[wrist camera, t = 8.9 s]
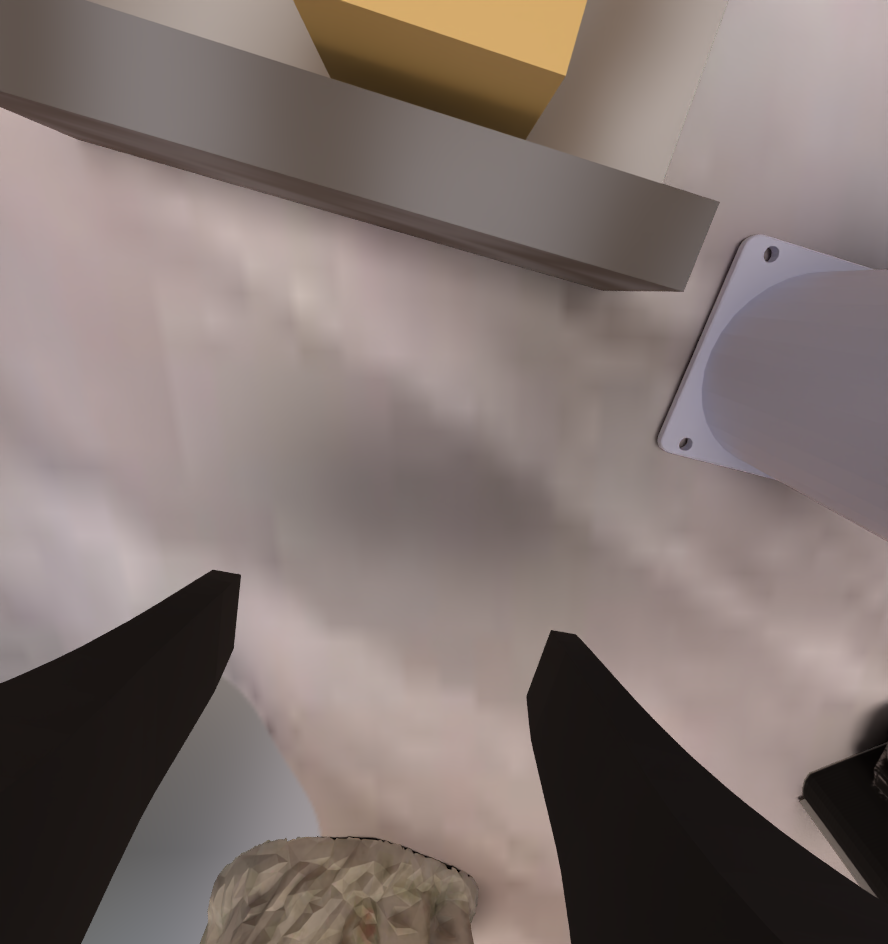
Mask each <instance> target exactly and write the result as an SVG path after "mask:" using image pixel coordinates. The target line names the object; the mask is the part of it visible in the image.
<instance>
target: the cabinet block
mask: <svg viewBox="0 0 888 944" xmlns="http://www.w3.org/2000/svg"><path fill="white" fill-rule="evenodd" d="M293 1H294V3H295V6H296V8H297V10H298V12H299V14H300V16H301V18H302V20H303V22H304V24H305V26H306V28H307V30H308V32H309V35H310V37H311V39H312V41H313V43H314V45H315V47H316V49H317V51H318V53H319V55H320V57H321V59H322V62H323V64H324V66H325V68H326V70H327V72H328V74H329V76H330V78H332V79H335V80H338V81H341V82H344V83H347V84H351V85H354V86H357V87H360V88H363V89H366V90H369V91H372V92H376V93H379V94H382V95H385V96H388V97H391V98H394V99H398V100H401V101H404V102H407V103H410V104H413V105H416V106H420V107H423V108H426V109H429V110H432V111H435V112H438V113H442V114H445V115H448V116H451V117H454V118H457V119H460V120H464V121H467V122H470V123H473V124H476V125H479V126H482V127H486V128H489V129H492V130H495V131H498V132H501V133H504V134H508V135H511V136H514V137H517V138H520V139H523V140H526V138H527V136H528V135H529V133H530V132H531V130H532V129H533V127H534V125H535V124H536V122H537V121H538V119H539V117H540V116H541V114H542V113H543V111H544V110H545V108H546V106H547V105H548V103H549V102H550V100H551V98H552V97H553V95H554V94H555V92H556V90H557V89H558V87H559V86H560V84H561V83H562V81H563V79H564V78H565V76H566V73H567V70H568V66H569V62H570V59H571V55H572V52H573V48H574V45H575V41H576V38H577V34H578V31H579V27H580V24H581V20H582V17H583V13H584V10H585V6H586V3H587V0H293Z"/></svg>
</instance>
